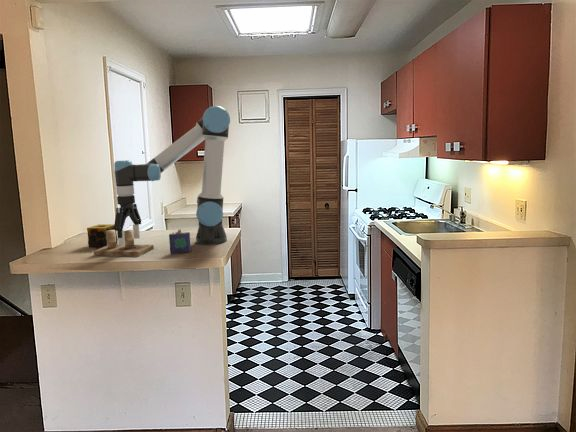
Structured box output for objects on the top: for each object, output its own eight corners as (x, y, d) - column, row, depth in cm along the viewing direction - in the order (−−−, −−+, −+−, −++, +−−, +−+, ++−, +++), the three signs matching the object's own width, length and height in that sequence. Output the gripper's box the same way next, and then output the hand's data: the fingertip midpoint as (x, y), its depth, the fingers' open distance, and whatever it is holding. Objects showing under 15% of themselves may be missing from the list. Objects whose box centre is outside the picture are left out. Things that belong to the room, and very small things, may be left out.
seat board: (153, 248, 220) (152, 228, 218) (139, 256, 206) (137, 234, 204) (110, 248, 224) (108, 227, 222) (93, 255, 210) (91, 233, 208)
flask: (190, 250, 214) (188, 227, 212) (191, 252, 211) (190, 228, 210) (169, 253, 210) (168, 229, 209) (171, 254, 208) (169, 230, 206)
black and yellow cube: (106, 248, 224) (104, 228, 222) (87, 248, 226) (85, 227, 224) (118, 243, 234) (116, 224, 232) (100, 243, 236) (98, 224, 234)
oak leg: (136, 251, 216) (134, 230, 214) (132, 253, 212) (130, 231, 210) (128, 251, 217) (126, 229, 215) (123, 253, 213) (122, 231, 211)
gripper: (131, 192, 223) (135, 235, 226) (102, 198, 199) (106, 247, 202) (146, 191, 221) (149, 235, 225) (118, 198, 197) (122, 247, 201)
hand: (129, 241), depth 213 cm, fingers open, 13 cm apart
